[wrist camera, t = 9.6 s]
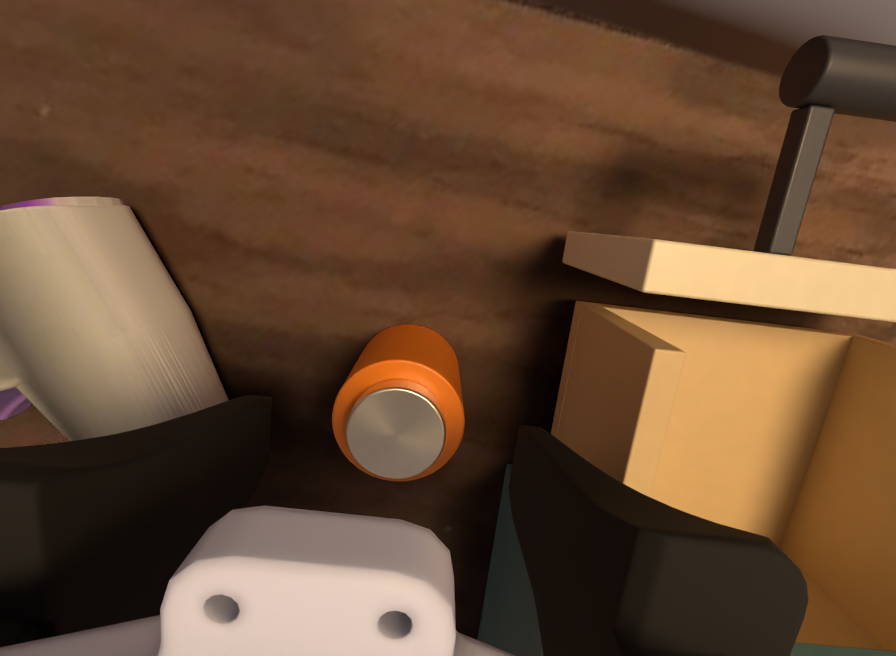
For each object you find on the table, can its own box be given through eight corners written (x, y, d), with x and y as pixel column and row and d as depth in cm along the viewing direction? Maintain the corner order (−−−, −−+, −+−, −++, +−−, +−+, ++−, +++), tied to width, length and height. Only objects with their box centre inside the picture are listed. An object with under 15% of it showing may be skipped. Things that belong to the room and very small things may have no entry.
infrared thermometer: (-157, 327, 19) (130, 172, 17) (20, 551, 22) (288, 444, 19) (-349, 364, 14) (7, 161, 12) (-95, 639, 17) (234, 515, 15)
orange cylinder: (465, 329, 18) (474, 376, 13) (452, 423, 19) (456, 503, 14) (362, 318, 18) (329, 360, 13) (355, 413, 19) (321, 490, 14)
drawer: (591, 92, 16) (708, -5, 9) (931, 139, 16) (1290, 81, 9) (515, 521, 20) (554, 684, 13) (788, 548, 20) (966, 717, 13)
